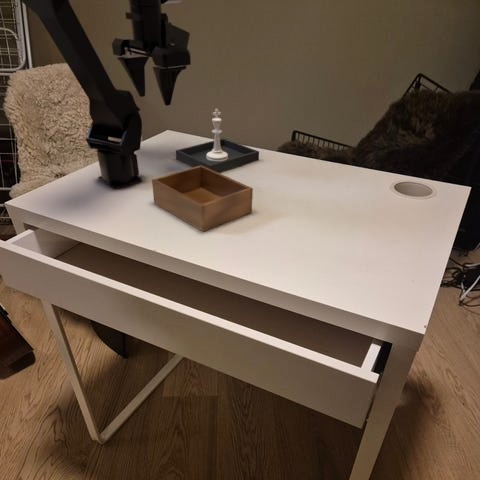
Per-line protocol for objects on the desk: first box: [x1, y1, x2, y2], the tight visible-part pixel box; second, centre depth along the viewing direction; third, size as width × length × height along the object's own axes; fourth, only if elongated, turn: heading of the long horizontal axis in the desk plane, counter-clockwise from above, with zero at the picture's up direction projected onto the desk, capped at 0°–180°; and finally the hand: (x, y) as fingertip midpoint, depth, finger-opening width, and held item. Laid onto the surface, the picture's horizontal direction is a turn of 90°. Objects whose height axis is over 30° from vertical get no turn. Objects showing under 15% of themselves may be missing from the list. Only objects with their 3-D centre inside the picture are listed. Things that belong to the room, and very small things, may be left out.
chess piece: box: [206, 108, 228, 161], centre depth 90 cm, size 5×5×10 cm
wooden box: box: [151, 165, 254, 232], centre depth 73 cm, size 11×14×4 cm
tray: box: [175, 137, 260, 173], centre depth 93 cm, size 14×12×2 cm
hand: (154, 100), depth 85 cm, fingers open, 9 cm apart
